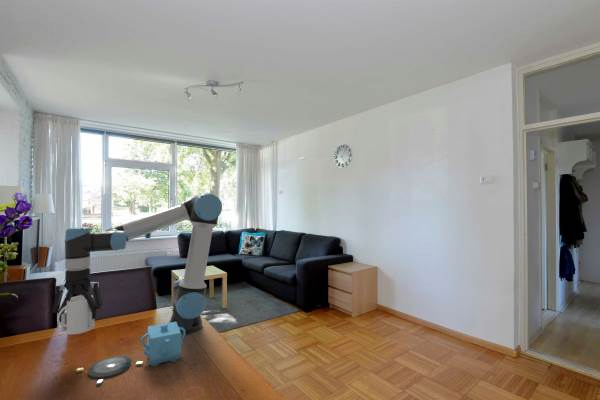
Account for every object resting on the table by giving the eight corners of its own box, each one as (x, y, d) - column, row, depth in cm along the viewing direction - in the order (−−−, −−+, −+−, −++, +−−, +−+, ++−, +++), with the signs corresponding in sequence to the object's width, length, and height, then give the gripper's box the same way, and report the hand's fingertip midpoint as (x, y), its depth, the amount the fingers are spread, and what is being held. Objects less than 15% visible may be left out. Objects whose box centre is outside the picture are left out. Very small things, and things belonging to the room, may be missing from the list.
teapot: (139, 356, 115) (140, 323, 115) (182, 346, 123) (183, 315, 123) (142, 380, 99) (142, 342, 99) (190, 368, 107) (191, 332, 107)
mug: (62, 340, 103) (62, 306, 103) (50, 335, 107) (50, 302, 107) (98, 327, 114) (98, 296, 114) (86, 323, 118) (86, 293, 118)
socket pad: (146, 355, 115) (146, 352, 115) (134, 380, 99) (134, 377, 99) (84, 362, 110) (85, 359, 110) (60, 390, 93) (60, 386, 93)
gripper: (113, 264, 117) (113, 321, 117) (50, 268, 112) (51, 328, 112) (105, 268, 110) (106, 329, 110) (38, 272, 105) (39, 336, 105)
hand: (78, 328), depth 111 cm, fingers closed on mug, 8 cm apart
